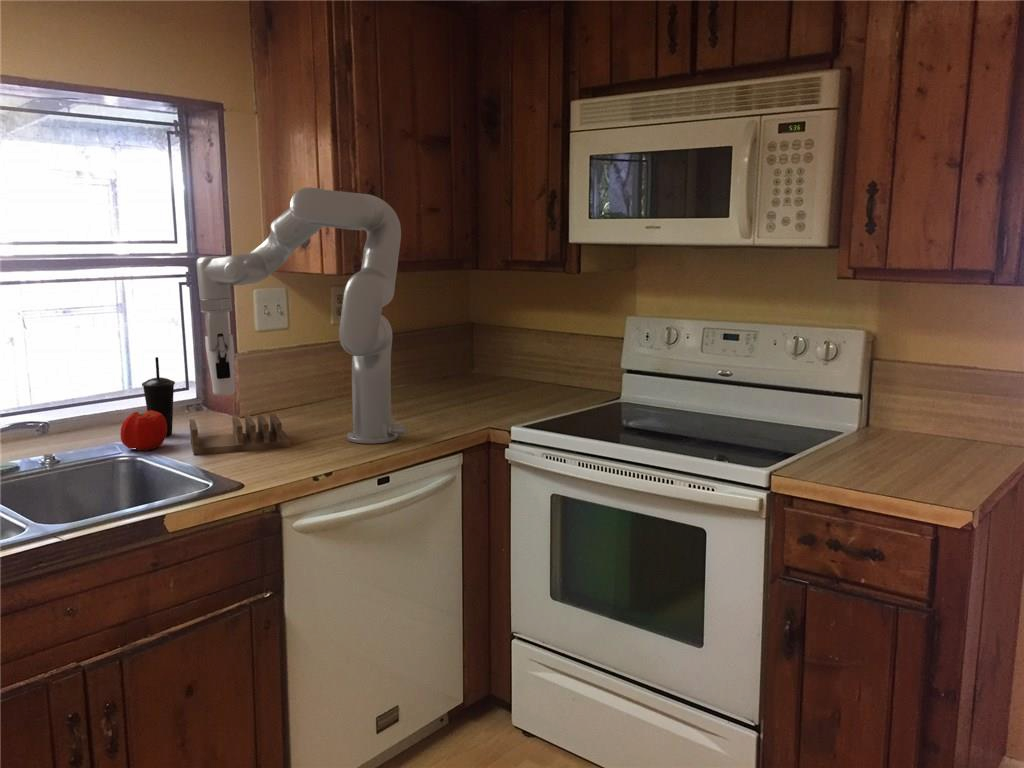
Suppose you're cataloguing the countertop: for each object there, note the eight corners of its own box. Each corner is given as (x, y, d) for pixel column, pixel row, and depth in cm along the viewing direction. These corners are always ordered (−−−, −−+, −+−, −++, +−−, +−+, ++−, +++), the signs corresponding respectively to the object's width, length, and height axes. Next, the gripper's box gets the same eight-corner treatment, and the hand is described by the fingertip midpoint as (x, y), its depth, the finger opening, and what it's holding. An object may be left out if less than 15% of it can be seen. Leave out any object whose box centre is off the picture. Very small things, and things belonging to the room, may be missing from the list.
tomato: (158, 440, 211) (155, 406, 210) (176, 449, 203) (173, 413, 202) (113, 447, 204) (110, 412, 203) (130, 456, 196) (127, 419, 195)
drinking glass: (229, 396, 215) (224, 336, 213) (204, 396, 217) (199, 337, 214) (242, 391, 222) (237, 333, 219) (219, 391, 223) (213, 333, 220)
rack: (283, 435, 217) (282, 412, 216) (290, 446, 207) (289, 422, 205) (190, 443, 209) (189, 419, 208) (193, 455, 198) (192, 429, 197)
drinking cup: (180, 431, 221) (175, 354, 217) (175, 438, 213) (170, 359, 210) (148, 432, 219) (143, 355, 215) (142, 439, 212) (137, 360, 208)
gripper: (198, 304, 222) (204, 373, 225) (202, 308, 206) (209, 382, 209) (228, 302, 224) (234, 370, 228) (235, 307, 209) (241, 379, 212)
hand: (222, 375), depth 218 cm, fingers closed on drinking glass, 5 cm apart
